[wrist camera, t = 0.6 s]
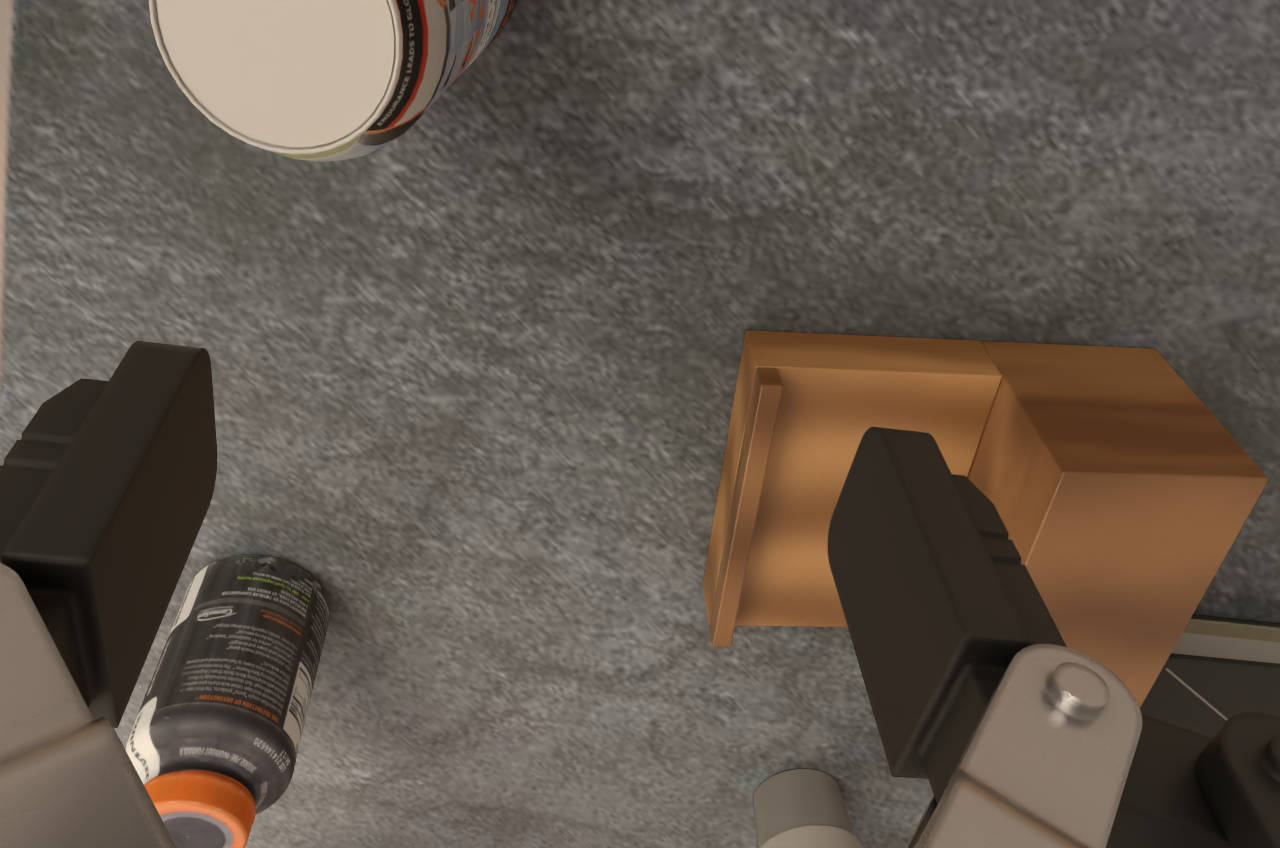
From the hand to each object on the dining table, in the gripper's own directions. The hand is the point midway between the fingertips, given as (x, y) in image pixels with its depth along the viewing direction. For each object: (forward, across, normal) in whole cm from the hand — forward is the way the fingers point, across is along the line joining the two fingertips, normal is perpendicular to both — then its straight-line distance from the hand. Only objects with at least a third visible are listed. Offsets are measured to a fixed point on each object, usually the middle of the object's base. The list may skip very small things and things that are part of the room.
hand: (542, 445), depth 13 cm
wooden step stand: (+22, -17, +16) cm, 32 cm away
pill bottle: (+22, +9, +27) cm, 36 cm away
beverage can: (+23, +5, -1) cm, 23 cm away
